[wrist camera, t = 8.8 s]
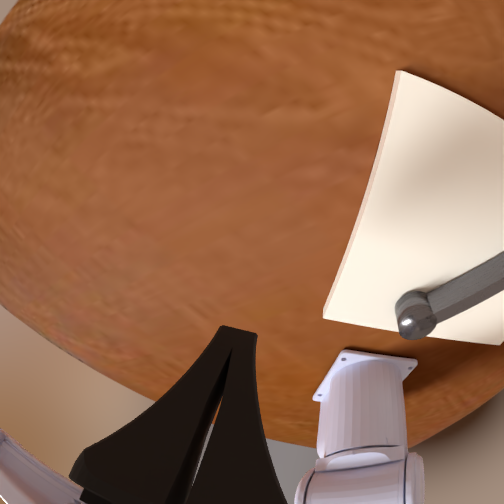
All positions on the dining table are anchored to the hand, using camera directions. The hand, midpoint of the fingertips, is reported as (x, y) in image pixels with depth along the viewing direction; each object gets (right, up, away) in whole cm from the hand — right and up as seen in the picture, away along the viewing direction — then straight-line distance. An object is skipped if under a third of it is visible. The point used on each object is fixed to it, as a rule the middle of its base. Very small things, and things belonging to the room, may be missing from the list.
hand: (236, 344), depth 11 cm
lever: (+16, +2, +5) cm, 17 cm away
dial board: (+16, +4, +5) cm, 17 cm away
